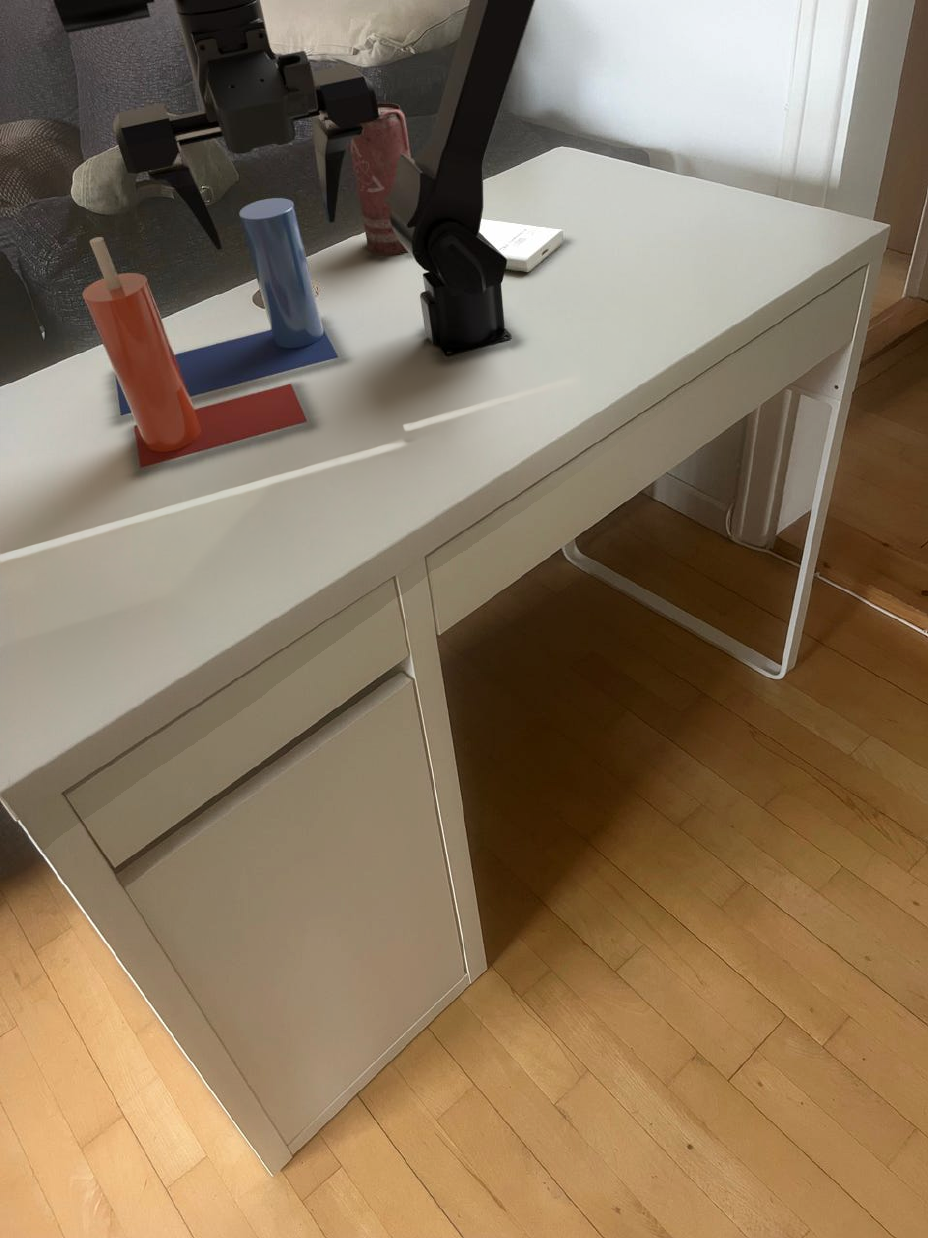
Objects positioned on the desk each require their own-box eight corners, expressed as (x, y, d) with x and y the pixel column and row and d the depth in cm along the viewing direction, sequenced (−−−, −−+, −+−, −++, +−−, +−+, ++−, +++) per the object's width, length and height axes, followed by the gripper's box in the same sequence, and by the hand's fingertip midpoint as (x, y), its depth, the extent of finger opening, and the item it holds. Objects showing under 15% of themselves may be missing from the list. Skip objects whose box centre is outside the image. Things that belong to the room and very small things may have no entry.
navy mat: (318, 322, 89) (317, 317, 89) (339, 361, 83) (338, 356, 83) (116, 374, 86) (114, 369, 86) (122, 419, 80) (120, 414, 80)
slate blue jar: (317, 320, 89) (287, 193, 80) (328, 340, 85) (298, 210, 77) (270, 332, 88) (235, 205, 80) (279, 353, 85) (243, 223, 76)
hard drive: (465, 229, 102) (563, 242, 97) (426, 259, 98) (526, 274, 92) (464, 215, 101) (563, 226, 96) (424, 244, 96) (525, 258, 91)
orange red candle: (186, 413, 78) (114, 220, 67) (211, 434, 75) (140, 236, 64) (135, 437, 76) (52, 242, 65) (159, 459, 74) (76, 259, 62)
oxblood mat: (292, 388, 81) (290, 383, 80) (308, 425, 76) (307, 420, 75) (136, 430, 78) (134, 425, 78) (142, 472, 73) (140, 467, 73)
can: (418, 258, 98) (397, 117, 88) (362, 260, 99) (336, 121, 89) (430, 235, 102) (412, 98, 92) (377, 237, 103) (353, 102, 94)
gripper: (83, 54, 54) (170, 302, 65) (379, -5, 57) (415, 241, 68) (78, 22, 62) (156, 249, 73) (339, -28, 65) (377, 196, 76)
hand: (275, 234), depth 72 cm, fingers open, 9 cm apart
